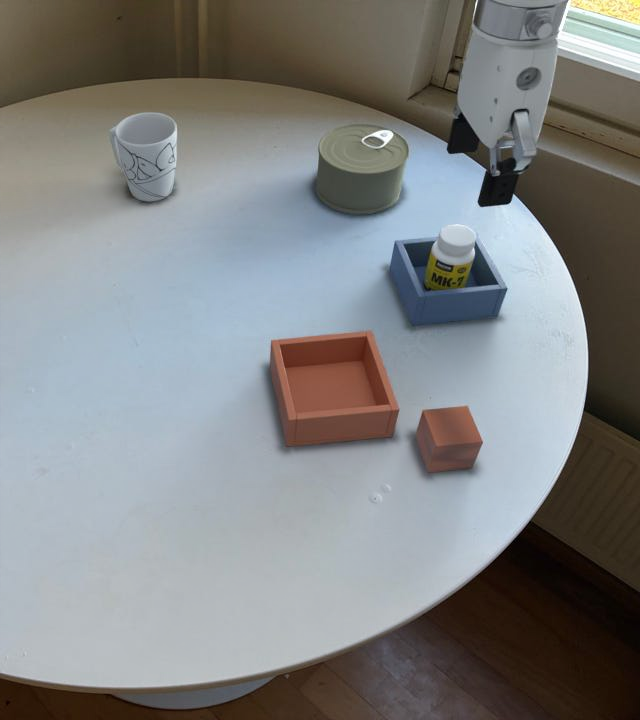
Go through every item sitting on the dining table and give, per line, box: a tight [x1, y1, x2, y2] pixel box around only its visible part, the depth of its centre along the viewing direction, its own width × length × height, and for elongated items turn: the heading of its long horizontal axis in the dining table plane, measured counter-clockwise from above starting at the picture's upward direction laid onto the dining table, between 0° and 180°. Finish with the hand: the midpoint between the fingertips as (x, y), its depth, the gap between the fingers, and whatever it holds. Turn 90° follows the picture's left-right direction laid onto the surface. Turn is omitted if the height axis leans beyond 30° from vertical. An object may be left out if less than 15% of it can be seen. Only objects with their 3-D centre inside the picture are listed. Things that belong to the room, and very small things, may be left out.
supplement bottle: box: [423, 223, 476, 292], centre depth 90 cm, size 5×5×8 cm
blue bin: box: [389, 232, 509, 326], centre depth 92 cm, size 10×10×5 cm
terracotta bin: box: [269, 330, 401, 448], centre depth 82 cm, size 11×11×5 cm
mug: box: [108, 111, 178, 203], centre depth 109 cm, size 11×8×10 cm
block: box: [414, 405, 484, 473], centre depth 76 cm, size 4×4×4 cm
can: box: [315, 123, 411, 216], centre depth 106 cm, size 12×12×7 cm
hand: (476, 176), depth 80 cm, fingers open, 9 cm apart
